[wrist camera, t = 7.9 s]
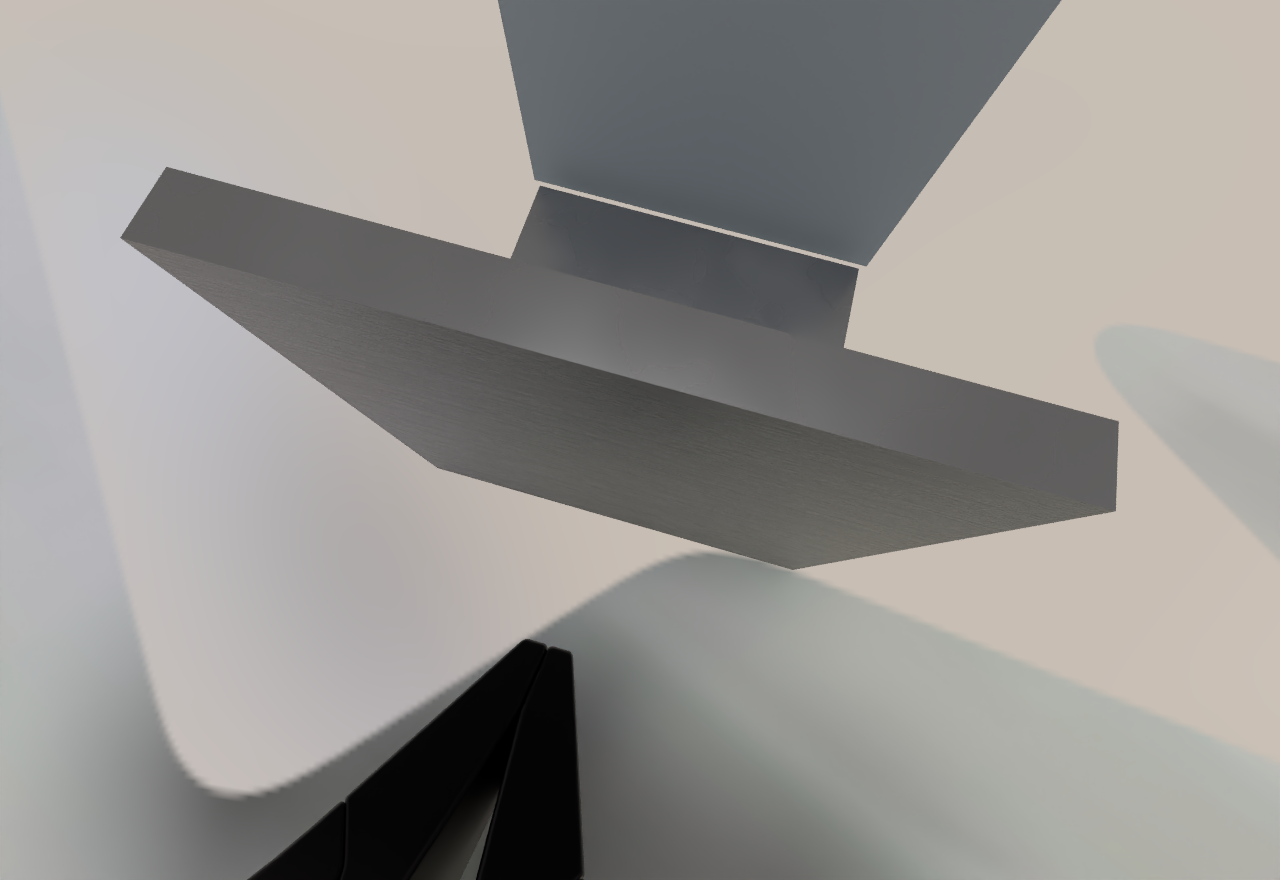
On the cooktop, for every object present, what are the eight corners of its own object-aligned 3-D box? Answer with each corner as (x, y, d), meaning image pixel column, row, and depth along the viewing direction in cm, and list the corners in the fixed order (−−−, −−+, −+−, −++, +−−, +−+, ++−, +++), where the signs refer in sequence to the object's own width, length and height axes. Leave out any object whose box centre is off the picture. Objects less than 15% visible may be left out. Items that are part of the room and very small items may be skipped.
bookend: (792, 570, 16) (1115, 510, 6) (437, 467, 17) (119, 237, 6) (848, 282, 19) (1136, -119, 8) (543, 202, 19) (451, -271, 9)
